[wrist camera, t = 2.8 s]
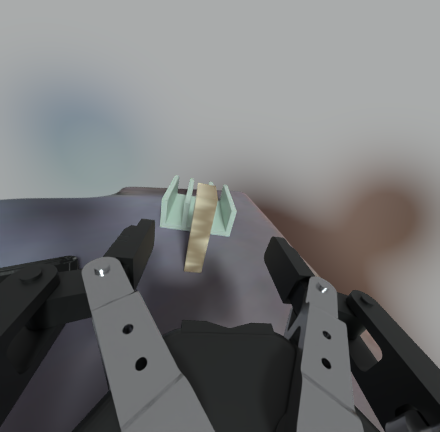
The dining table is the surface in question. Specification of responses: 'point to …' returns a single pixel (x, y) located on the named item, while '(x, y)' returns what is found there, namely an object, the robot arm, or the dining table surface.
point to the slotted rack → (184, 206)
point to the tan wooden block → (201, 227)
